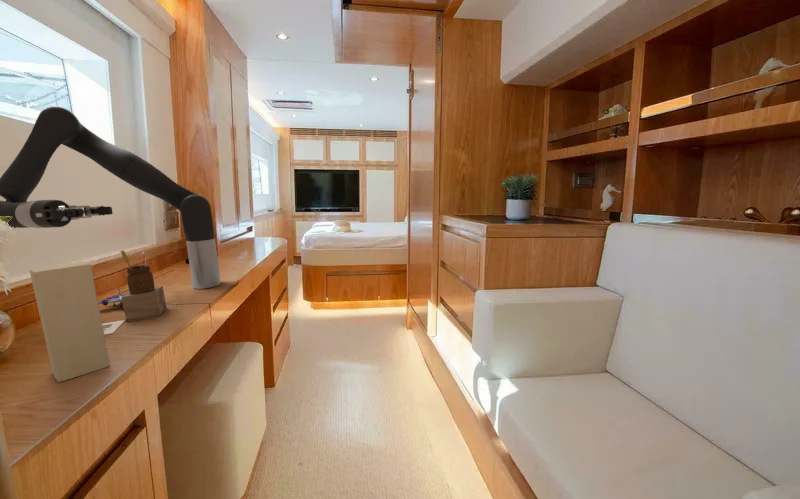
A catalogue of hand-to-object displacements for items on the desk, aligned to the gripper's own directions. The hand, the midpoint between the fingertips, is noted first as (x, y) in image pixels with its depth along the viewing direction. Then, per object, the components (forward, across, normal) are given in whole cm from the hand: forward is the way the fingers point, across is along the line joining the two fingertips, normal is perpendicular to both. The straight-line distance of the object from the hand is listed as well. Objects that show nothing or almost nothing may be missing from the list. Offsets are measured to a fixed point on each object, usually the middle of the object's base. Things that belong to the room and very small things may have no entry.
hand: (96, 211), depth 96 cm
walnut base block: (+7, +3, +30) cm, 31 cm away
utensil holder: (+7, +2, +23) cm, 24 cm away
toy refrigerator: (+20, -28, +30) cm, 46 cm away
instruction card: (+4, -8, +30) cm, 31 cm away
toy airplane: (-7, +10, +30) cm, 33 cm away
